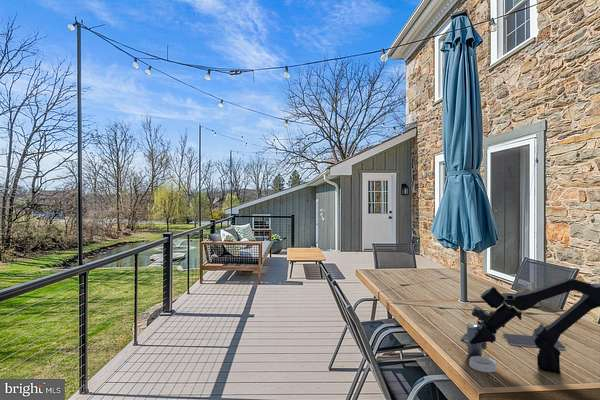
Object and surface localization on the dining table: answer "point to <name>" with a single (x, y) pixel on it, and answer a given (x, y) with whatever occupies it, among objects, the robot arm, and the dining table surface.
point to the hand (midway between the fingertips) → (470, 340)
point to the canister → (471, 332)
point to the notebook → (526, 341)
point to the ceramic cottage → (528, 289)
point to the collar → (482, 364)
